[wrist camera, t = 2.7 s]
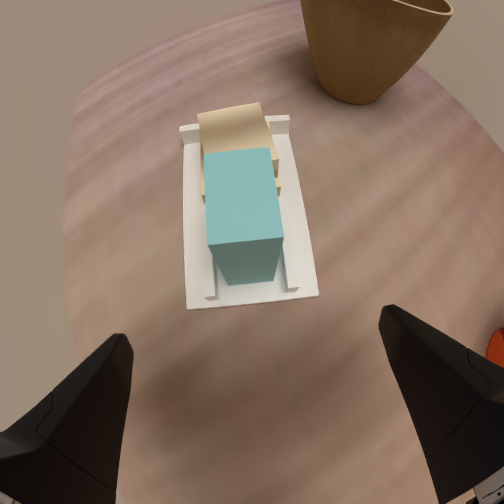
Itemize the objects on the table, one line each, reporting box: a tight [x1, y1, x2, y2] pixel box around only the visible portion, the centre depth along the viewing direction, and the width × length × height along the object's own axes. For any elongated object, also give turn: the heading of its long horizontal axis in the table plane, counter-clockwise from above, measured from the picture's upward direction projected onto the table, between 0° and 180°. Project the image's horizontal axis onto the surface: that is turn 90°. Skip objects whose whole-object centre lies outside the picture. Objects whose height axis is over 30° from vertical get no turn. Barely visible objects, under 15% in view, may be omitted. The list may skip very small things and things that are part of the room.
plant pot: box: [301, 0, 454, 104], centre depth 22 cm, size 15×15×16 cm
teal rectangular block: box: [204, 147, 284, 286], centre depth 18 cm, size 5×3×10 cm
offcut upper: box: [197, 102, 279, 178], centre depth 21 cm, size 6×5×2 cm
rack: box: [179, 115, 319, 310], centre depth 23 cm, size 16×10×3 cm, turn 6°
